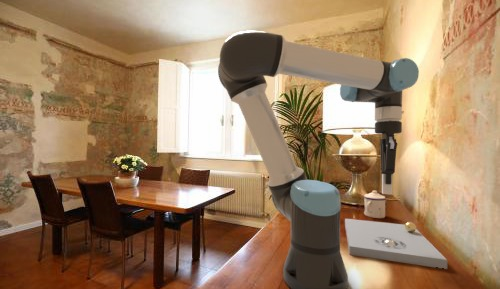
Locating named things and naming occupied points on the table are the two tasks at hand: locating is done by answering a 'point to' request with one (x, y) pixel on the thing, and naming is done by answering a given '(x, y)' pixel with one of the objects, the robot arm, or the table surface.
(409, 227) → the brass ball
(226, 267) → the table surface
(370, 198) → the teacup with lid
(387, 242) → the steel ball
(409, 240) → the plate
